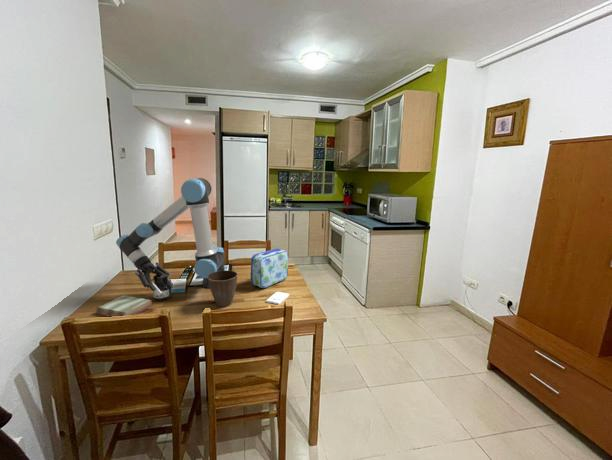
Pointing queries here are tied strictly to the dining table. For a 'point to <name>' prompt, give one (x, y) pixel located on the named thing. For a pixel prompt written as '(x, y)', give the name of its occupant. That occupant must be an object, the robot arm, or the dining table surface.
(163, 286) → the ink bottle
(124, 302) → the mat platform
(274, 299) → the external hard drive
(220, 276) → the plant pot
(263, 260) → the lunch box
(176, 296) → the dining table surface
